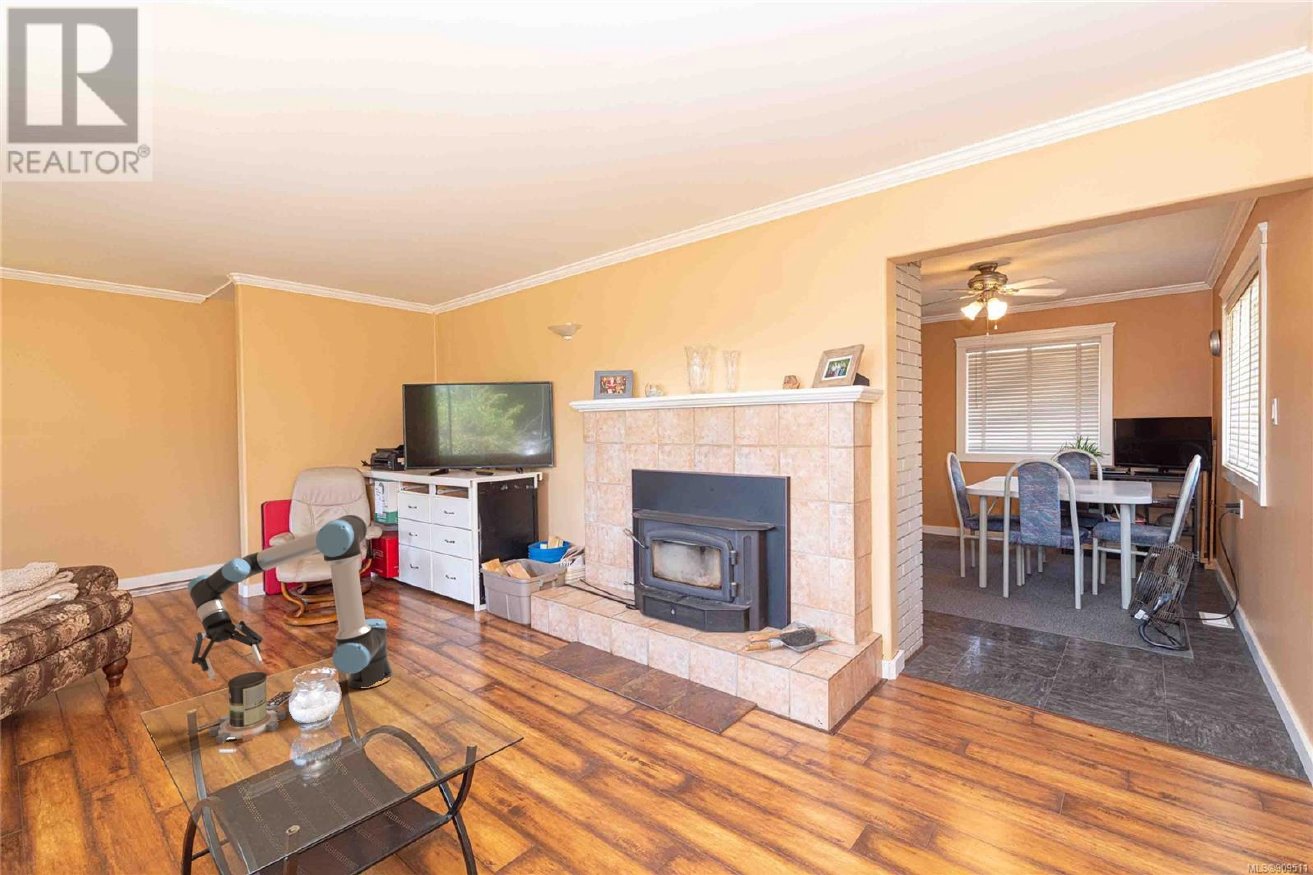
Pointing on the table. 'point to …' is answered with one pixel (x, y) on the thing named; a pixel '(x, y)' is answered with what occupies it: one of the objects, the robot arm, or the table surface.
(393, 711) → the table surface
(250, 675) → the coffee can
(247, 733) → the sprocket plate
